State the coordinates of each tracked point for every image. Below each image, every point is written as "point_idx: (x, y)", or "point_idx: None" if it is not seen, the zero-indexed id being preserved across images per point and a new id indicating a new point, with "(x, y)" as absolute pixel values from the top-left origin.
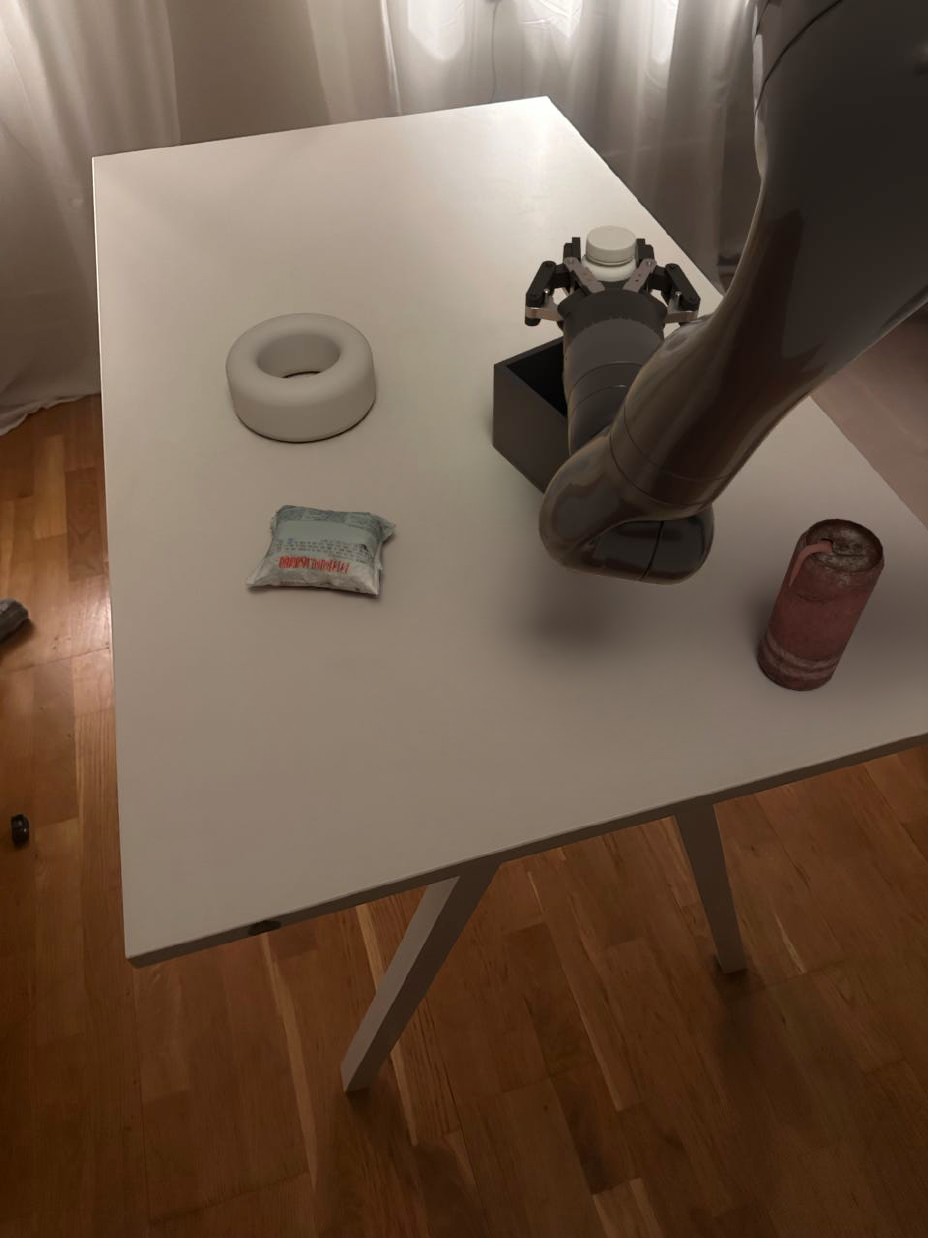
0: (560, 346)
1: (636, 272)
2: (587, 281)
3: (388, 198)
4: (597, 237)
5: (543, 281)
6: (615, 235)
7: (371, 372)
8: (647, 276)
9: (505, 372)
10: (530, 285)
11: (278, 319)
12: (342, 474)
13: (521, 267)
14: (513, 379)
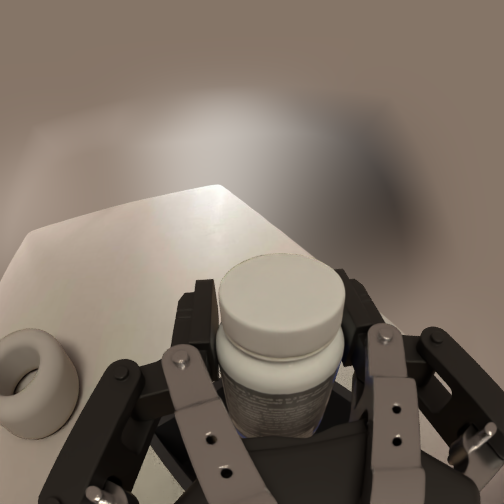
0: (223, 389)
1: (383, 401)
2: (222, 486)
3: (133, 234)
4: (246, 290)
5: (91, 449)
6: (291, 278)
7: (61, 389)
8: (417, 408)
9: (151, 442)
10: (56, 461)
11: (13, 334)
12: None
13: (204, 270)
14: (161, 456)
